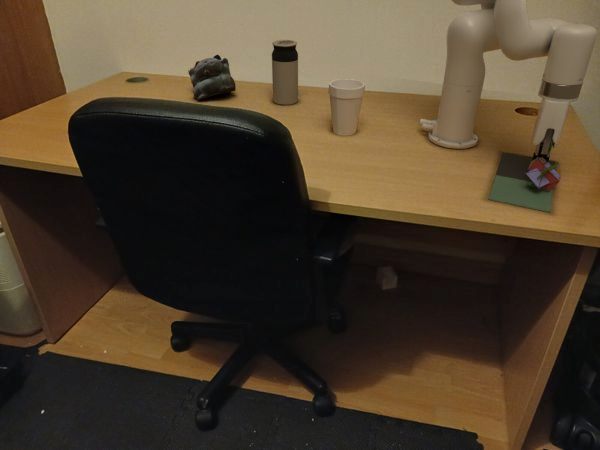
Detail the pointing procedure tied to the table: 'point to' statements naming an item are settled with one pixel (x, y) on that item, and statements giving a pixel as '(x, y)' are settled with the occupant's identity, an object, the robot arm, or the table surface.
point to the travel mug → (285, 72)
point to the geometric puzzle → (543, 174)
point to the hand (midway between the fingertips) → (537, 170)
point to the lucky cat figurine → (211, 77)
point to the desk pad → (519, 184)
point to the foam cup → (345, 104)
